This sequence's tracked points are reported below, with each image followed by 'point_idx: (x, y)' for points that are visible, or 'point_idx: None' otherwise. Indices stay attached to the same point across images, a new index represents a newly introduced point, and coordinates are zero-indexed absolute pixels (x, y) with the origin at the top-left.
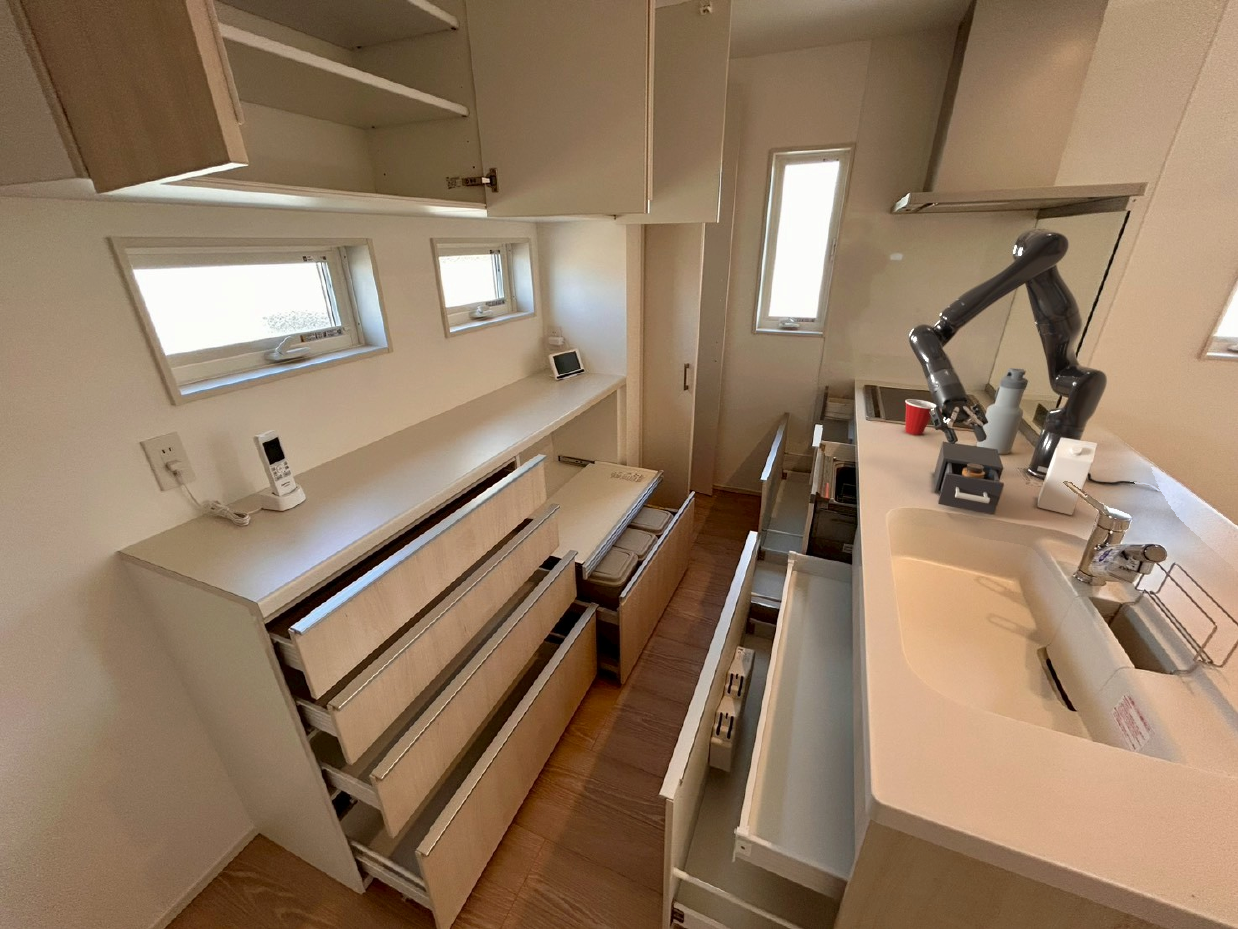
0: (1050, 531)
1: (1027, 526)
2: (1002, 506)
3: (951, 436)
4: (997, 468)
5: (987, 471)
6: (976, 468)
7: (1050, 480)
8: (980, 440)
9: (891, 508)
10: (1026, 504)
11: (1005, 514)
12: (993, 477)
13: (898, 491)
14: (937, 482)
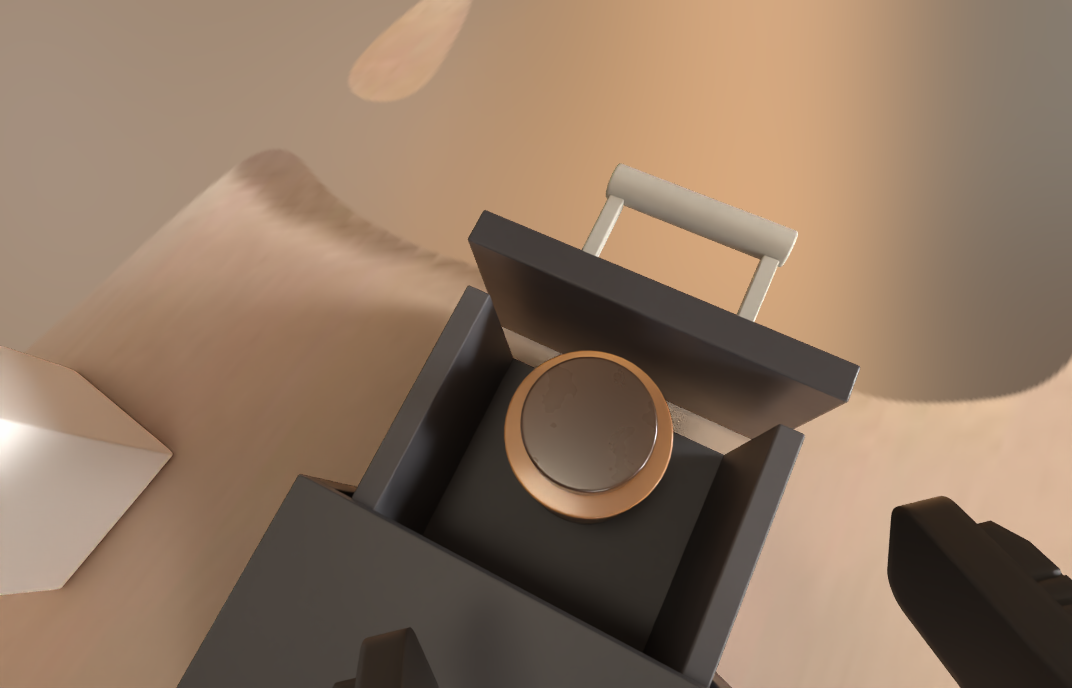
0: (319, 202)
1: (393, 239)
2: (363, 460)
3: (1035, 571)
4: (341, 494)
5: None
6: (612, 362)
7: (16, 410)
8: (428, 680)
9: (1062, 387)
10: (201, 498)
11: (415, 359)
12: (442, 397)
13: None
14: None
